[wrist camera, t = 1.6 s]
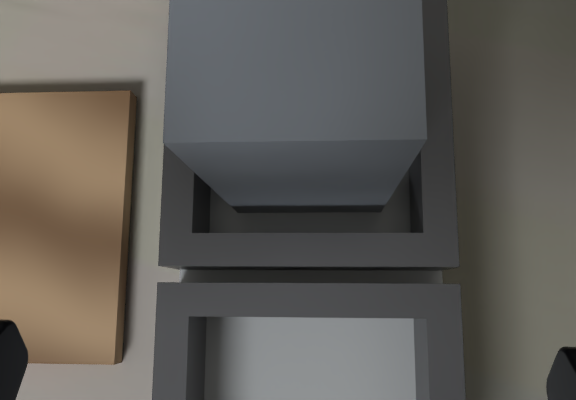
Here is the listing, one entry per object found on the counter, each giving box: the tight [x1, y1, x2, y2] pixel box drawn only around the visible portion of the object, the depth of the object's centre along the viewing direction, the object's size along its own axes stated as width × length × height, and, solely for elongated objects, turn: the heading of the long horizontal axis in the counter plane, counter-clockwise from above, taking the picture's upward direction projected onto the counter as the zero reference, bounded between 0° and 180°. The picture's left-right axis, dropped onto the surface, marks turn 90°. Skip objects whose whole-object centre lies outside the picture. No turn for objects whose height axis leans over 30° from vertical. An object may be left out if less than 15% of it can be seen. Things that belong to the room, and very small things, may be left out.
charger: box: [163, 0, 427, 213], centre depth 15 cm, size 5×5×9 cm
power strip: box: [152, 0, 466, 400], centre depth 19 cm, size 22×9×6 cm, turn 0°
